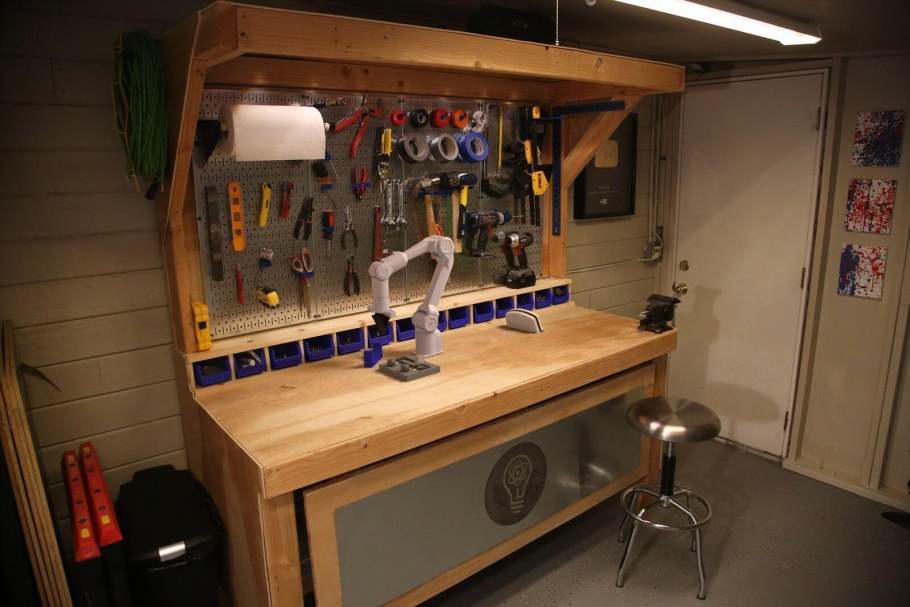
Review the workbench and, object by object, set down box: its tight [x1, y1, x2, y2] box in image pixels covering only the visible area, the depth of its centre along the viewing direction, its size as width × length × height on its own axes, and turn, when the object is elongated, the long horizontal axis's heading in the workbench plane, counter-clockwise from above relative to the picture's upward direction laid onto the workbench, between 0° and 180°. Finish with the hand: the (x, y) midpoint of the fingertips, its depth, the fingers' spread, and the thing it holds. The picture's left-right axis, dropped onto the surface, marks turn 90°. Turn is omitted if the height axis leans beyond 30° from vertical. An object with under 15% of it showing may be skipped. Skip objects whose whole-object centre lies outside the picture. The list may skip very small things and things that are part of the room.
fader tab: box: [413, 354, 425, 368], centre depth 206 cm, size 3×2×4 cm
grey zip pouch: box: [505, 308, 545, 334], centre depth 257 cm, size 17×5×10 cm, turn 47°
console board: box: [378, 355, 441, 383], centre depth 208 cm, size 14×16×4 cm
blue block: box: [363, 340, 384, 369], centre depth 218 cm, size 12×4×6 cm, turn 169°
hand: (382, 333), depth 216 cm, fingers closed
